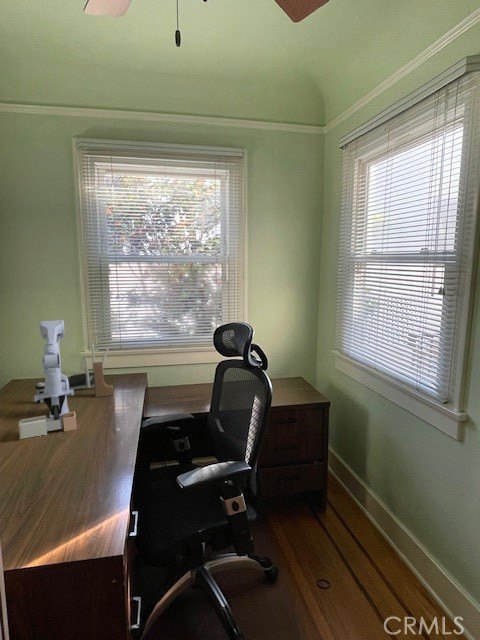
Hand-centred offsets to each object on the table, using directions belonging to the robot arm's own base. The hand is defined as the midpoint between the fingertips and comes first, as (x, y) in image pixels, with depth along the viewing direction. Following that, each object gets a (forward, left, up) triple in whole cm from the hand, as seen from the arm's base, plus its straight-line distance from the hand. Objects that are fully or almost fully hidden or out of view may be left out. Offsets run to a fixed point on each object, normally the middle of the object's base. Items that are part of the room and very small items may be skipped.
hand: (56, 413), depth 150 cm
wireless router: (-60, +17, -8) cm, 63 cm away
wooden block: (-34, +23, -7) cm, 42 cm away
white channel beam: (0, -9, -7) cm, 11 cm away
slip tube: (0, -4, -6) cm, 7 cm away
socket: (0, +5, -7) cm, 9 cm away
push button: (-39, -7, -7) cm, 40 cm away
